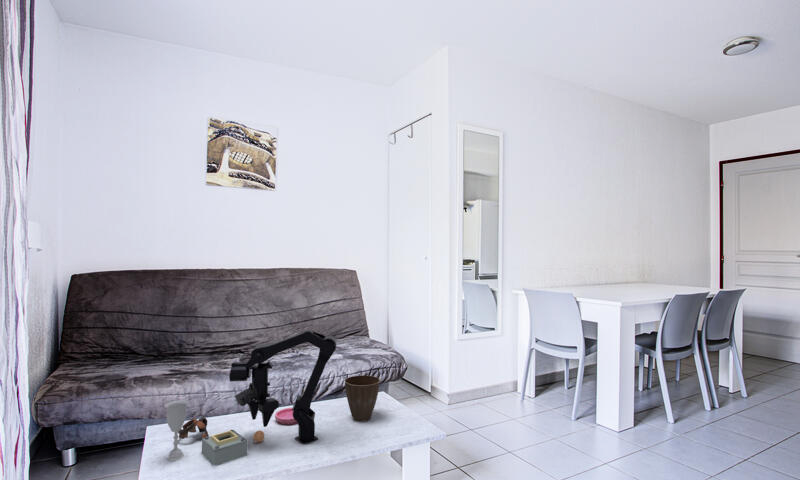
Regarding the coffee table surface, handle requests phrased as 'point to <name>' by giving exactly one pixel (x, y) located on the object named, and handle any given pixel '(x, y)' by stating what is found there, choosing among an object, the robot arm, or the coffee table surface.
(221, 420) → the coffee table surface
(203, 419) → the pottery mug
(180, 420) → the chalice
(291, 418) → the saucer
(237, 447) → the grey box with opening
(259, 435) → the bead
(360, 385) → the plant pot
